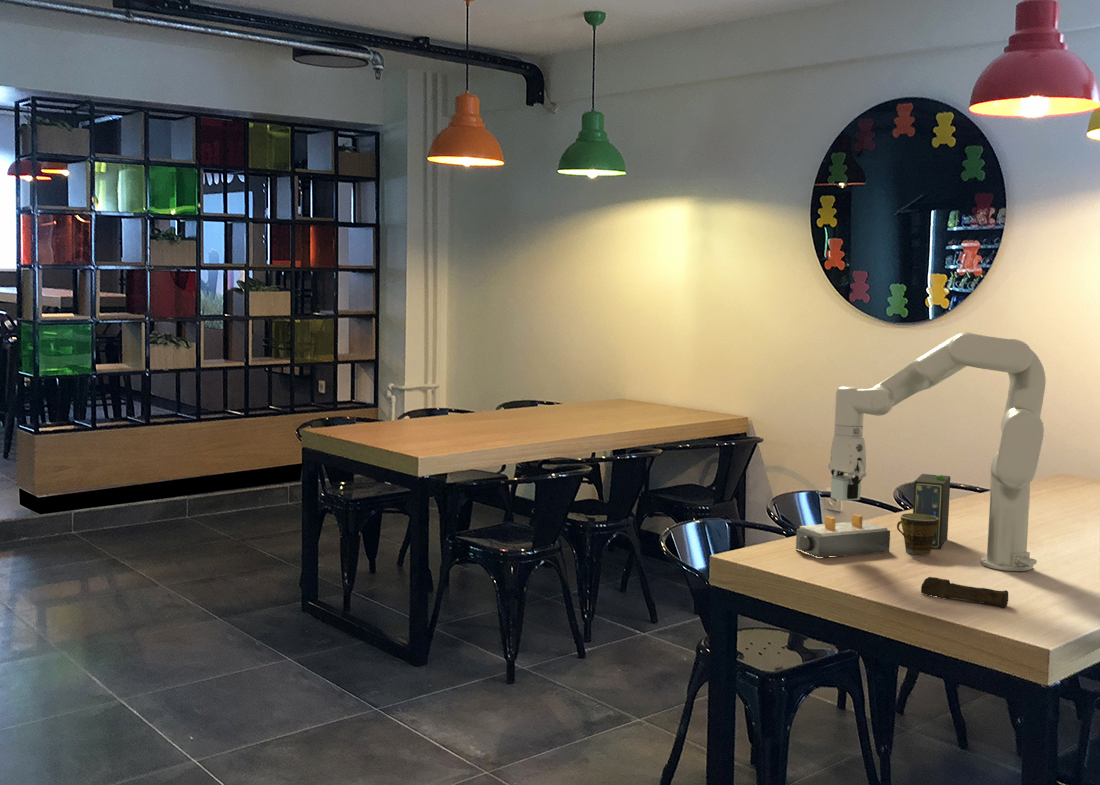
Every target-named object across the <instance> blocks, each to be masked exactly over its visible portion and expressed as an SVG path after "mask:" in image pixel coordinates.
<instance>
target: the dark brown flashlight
mask: <svg viewBox="0 0 1100 785" xmlns="http://www.w3.org/2000/svg"><path fill="white" fill-rule="evenodd" d="M920 592H921V594H923V593H924V594H923V595H925V594H927V595H926V596H929V595H932V596H937V597H941V598H940V599H942V598H947V599H949V598H950V599H951V598H952V599H958V600H963V601H970V602H975V603H982V604H987V605H991V606H999V607H1002V608H1003V609H1006V608H1007V607H1008V604H1009V591H1008V590H1007V589H1006V590H995V589H992V588H986V587H985V588H984V587H974V586H968V585H963V584H957V583H953V582H952V583H951V582H950V579H945V578H940V577H936V576H935V577H933V576H928V577H927V578H925V579H923V583H922V584H921V586H920ZM932 596H931V597H932ZM937 597H936V598H937Z"/></svg>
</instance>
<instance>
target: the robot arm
mask: <svg viewBox="0 0 1100 785" xmlns="http://www.w3.org/2000/svg"><path fill="white" fill-rule="evenodd" d="M1041 361H1042V360H1040V358H1039V356H1038V355H1037V353H1036V352H1035V351H1033V349H1031V348H1030V346H1029V345H1028V344H1027V343H1026V342H1024V341H1022V340H1019V339H1015V338H1002V337H994V336H987V335H981V334H977V333H973V332H969V331H964V332H960V333H957V334H955V335H953V336H952V337H950V338H949V339H947V340H946V341H945V340H944V342H942V343H941V344H939V345H938V346H936V347H934V348H932V349H931V350H929V351H928V352H926V353H925V354H923V355H921V356H920V357H918V358H916V359H915V360H913V361H911V362H910V363H909V364H907V365H906V366H905V367H903V368H902V369H900V370H898V371H897V372H896V373H894V374H892V375H890V376H889V377H887V378H886V379H884V380H882V381H881V382H879V383H878V384H876V385H874V386H873V387H871V388H862V387H860V386H859V387H858V386H839V387H838V388H837V389H836V392H835V406H834V426H833V428H834V429H833V430H834V432H833V437H832V442H831V448H830V460H829V461H830V462H829V463H828V465H827V469H829V471H830V474H831V477H832V476H844V475H845V474H847V475H848V477H849V484H848V489H847V498H848V499H857V498H858V484H860V481H861V482H862V480H863V479H864V478H865V477H866V476H867V472H866V471H867V453H866V452H867V450H866V443H865V437H863V434H864V414H866V415H871V416H877V417H879V416H884V415H886V414H888V413H889V412H890V411H891V410H892V408H894V407H895V406H897V405H898V404H900V403H901V402H903V401H905V400H907V399H908V398H910V397H911V396H913V395H915V394H917V393H919V392H922V391H925V390H929V389H931V388H932V387H935V386H937V385H939V384H940V383H942V382H944V381H945V380H947V379H948V378H950V377H952V376H954V375H955V374H956V373H958V372H960V371H962V370H963V369H965V368H967V367H971V368H976V369H982V370H990V371H997V372H1003V373H1007V375H1008V379H1009V380H1008V381H1009V386H1008V391H1007V398H1006V399H1007V400H1006V403H1005V408H1004V412H1003V415H1002V419H1001V421H1000V429H1001V432H1002V433H1001V437H1000V443H999V448H998V450H997V451H996V453H994V455H993V456H992V459H991V463H990V490H989V491H990V492H989V494H990V495H989V496H990V497H989V509H988V510H989V511H988V512H989V513H988V529H987V531H988V532H987V549H986V550H987V552H986V556H983V557H981V558H980V560H979V562H980V564H981V565H982V566H984V567H986V568H990V569H994V570H1000V571H1007V572H1028V571H1031V570H1032V569H1033V567H1034V566H1035V565H1037V563H1038V561H1037V559H1035V558H1031V556H1030V555H1031V552H1030V551H1028V535H1029V534H1028V533H1029V519H1030V518H1029V514H1030V513H1029V512H1030V503H1031V502H1030V500H1031V482H1032V481H1033V480H1034V478H1035V475H1036V472H1037V468H1038V464H1039V460H1040V459H1039V458H1040V453H1041V449H1042V445H1043V441H1044V436H1045V435H1044V433H1045V427H1044V423H1043V420H1042V418H1041V415H1042V408H1043V403H1044V397H1045V391H1046V382H1047V380H1046V372H1045V369H1044V366H1043V363H1042V362H1041ZM853 476H854V478H853Z"/></svg>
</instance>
